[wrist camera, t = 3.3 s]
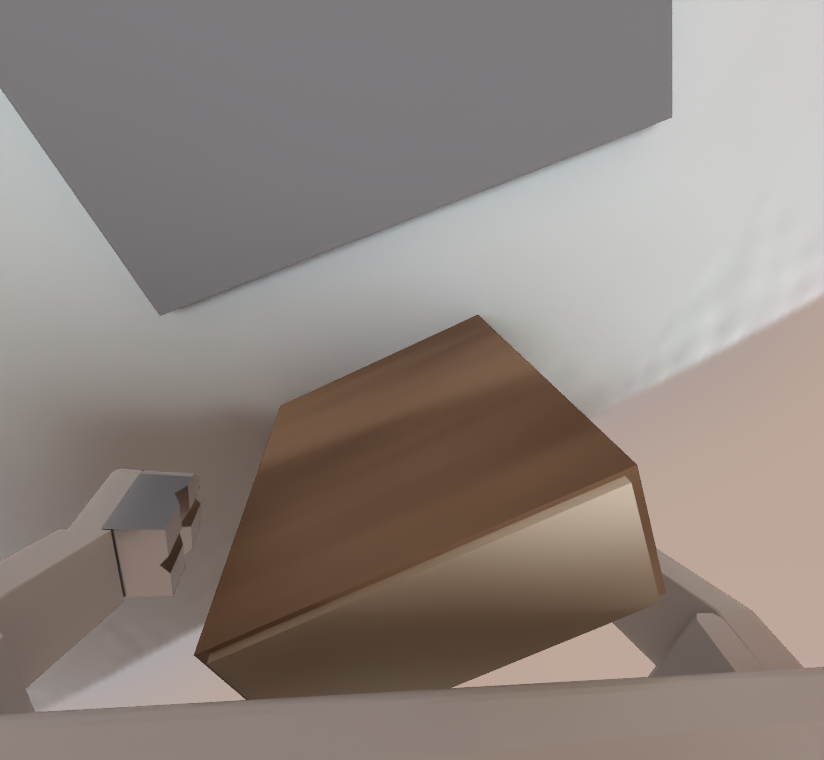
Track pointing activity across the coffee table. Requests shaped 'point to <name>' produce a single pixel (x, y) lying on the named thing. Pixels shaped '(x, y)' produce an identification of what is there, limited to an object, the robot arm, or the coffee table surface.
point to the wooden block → (427, 529)
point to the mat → (313, 114)
